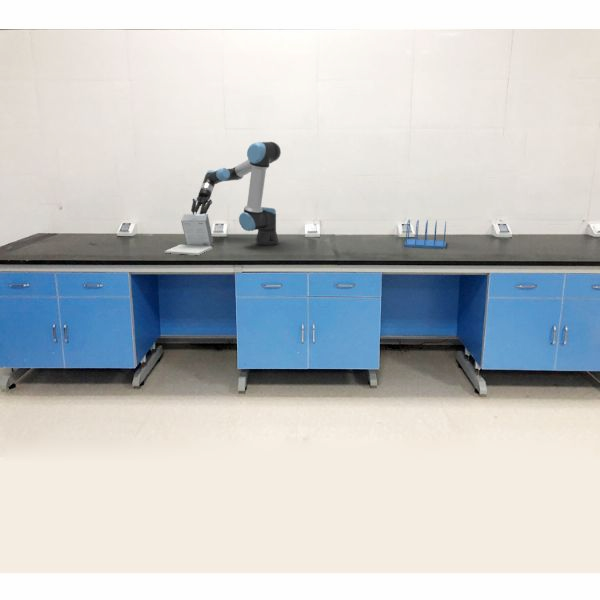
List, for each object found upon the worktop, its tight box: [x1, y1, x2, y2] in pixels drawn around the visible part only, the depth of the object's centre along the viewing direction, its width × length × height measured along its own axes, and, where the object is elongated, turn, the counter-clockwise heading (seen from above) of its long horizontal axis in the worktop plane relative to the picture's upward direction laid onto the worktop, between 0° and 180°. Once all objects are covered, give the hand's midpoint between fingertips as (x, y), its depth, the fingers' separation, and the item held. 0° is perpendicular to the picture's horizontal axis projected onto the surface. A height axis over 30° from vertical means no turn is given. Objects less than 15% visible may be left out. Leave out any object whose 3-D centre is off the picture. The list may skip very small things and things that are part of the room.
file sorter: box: [403, 218, 447, 249], centre depth 372 cm, size 25×17×15 cm
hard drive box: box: [181, 213, 214, 246], centre depth 365 cm, size 16×8×20 cm, turn 84°
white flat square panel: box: [164, 244, 213, 256], centre depth 358 cm, size 22×20×2 cm
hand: (194, 221), depth 366 cm, fingers open, 2 cm apart
